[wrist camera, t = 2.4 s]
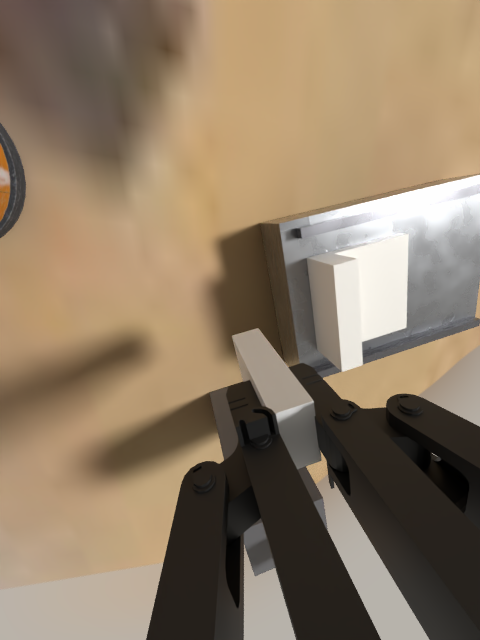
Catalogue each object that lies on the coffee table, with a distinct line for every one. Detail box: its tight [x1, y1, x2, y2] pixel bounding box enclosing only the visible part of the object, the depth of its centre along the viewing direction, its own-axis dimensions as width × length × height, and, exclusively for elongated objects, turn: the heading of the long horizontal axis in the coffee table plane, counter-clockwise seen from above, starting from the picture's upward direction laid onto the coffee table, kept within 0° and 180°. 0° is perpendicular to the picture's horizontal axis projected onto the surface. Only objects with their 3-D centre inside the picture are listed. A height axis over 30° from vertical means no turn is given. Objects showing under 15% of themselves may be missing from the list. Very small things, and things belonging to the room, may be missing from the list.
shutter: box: [307, 233, 409, 372], centre depth 18 cm, size 7×7×3 cm
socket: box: [260, 174, 480, 378], centre depth 22 cm, size 16×12×5 cm
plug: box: [209, 384, 327, 576], centre depth 19 cm, size 4×4×14 cm
